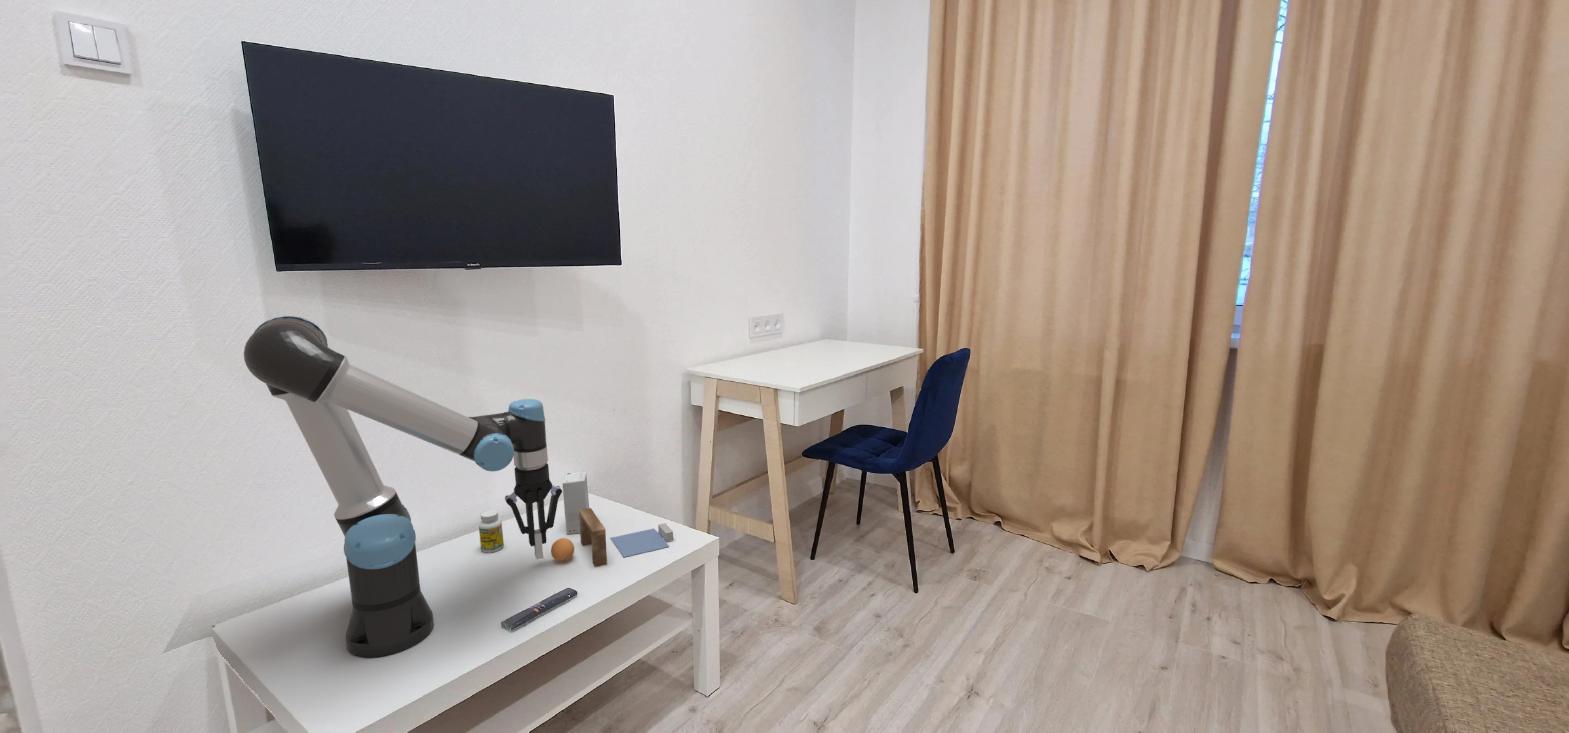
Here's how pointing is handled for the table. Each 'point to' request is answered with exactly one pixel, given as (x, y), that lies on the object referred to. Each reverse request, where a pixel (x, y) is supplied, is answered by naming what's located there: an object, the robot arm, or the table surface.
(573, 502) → the skincare box
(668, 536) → the stopper
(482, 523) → the supplement bottle
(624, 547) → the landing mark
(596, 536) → the bridge
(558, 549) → the ball
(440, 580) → the table surface
